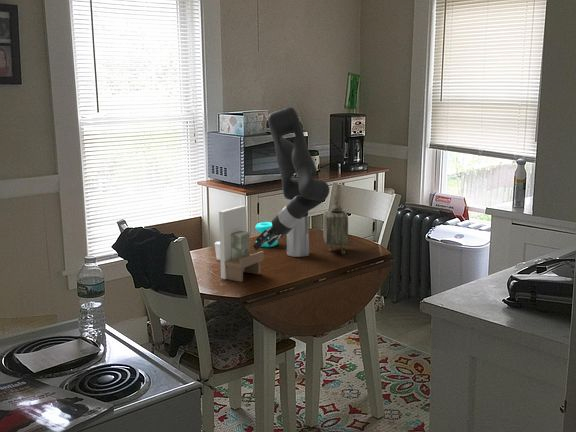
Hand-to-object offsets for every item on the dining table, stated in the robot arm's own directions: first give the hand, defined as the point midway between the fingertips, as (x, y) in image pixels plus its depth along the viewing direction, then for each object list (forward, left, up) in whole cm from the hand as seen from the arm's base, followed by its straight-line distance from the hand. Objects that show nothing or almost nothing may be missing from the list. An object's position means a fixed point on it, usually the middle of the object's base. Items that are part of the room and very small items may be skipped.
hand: (261, 245), depth 235 cm
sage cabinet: (+8, -6, -6) cm, 12 cm away
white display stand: (+7, -6, -13) cm, 17 cm away
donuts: (-6, -52, -14) cm, 54 cm away
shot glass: (+14, -32, -14) cm, 38 cm away
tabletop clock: (-35, -37, -13) cm, 53 cm away
